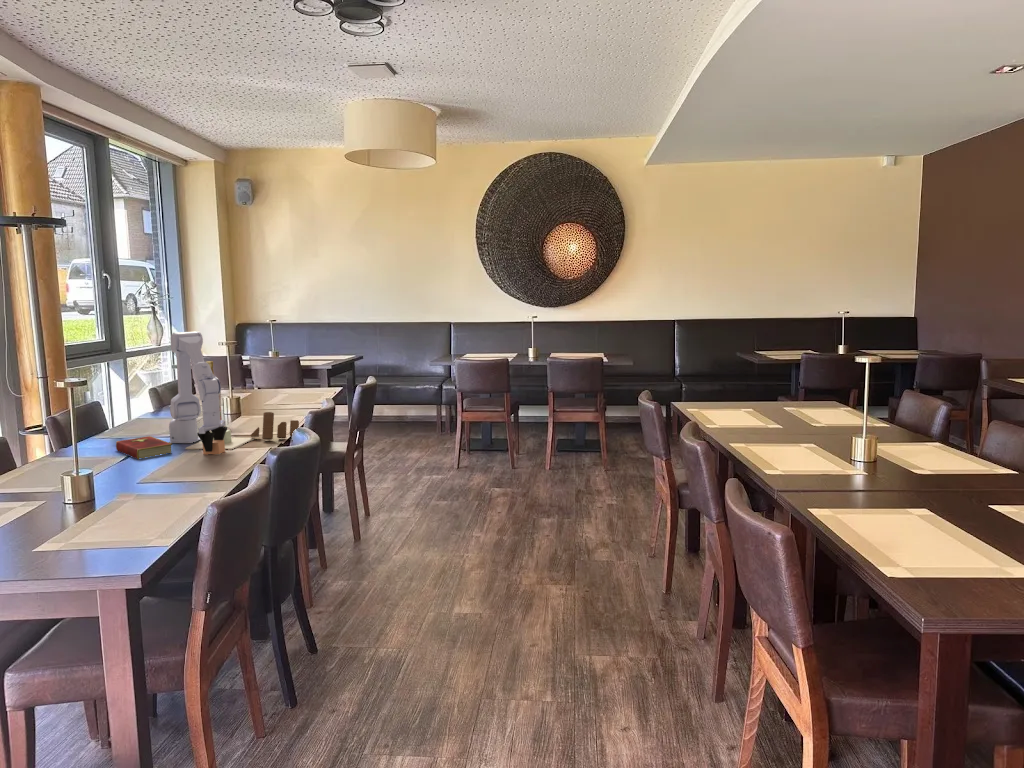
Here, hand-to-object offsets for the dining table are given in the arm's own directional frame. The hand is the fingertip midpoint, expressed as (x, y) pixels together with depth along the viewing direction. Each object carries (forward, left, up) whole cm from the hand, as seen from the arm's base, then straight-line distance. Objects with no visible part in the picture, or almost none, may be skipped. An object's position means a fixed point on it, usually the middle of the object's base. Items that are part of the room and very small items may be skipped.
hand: (214, 449), depth 249 cm
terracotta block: (0, 0, -2) cm, 2 cm away
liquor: (-27, +48, -2) cm, 55 cm away
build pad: (-5, +14, -1) cm, 15 cm away
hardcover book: (-27, +1, -2) cm, 27 cm away
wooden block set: (+12, +23, -1) cm, 26 cm away
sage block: (-5, +14, -1) cm, 15 cm away
